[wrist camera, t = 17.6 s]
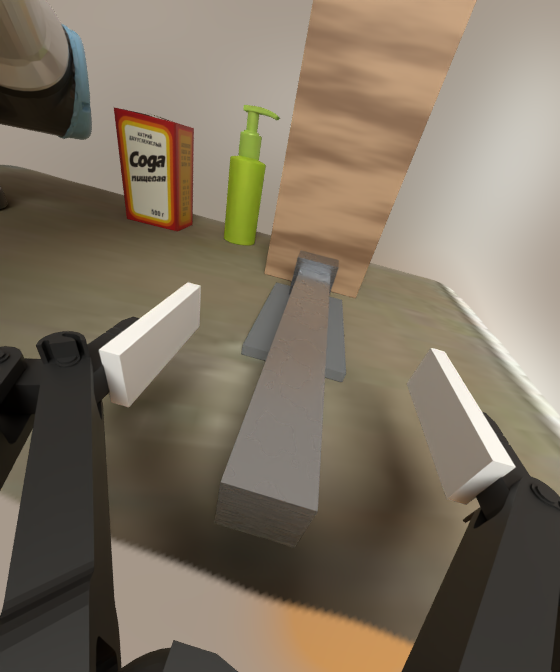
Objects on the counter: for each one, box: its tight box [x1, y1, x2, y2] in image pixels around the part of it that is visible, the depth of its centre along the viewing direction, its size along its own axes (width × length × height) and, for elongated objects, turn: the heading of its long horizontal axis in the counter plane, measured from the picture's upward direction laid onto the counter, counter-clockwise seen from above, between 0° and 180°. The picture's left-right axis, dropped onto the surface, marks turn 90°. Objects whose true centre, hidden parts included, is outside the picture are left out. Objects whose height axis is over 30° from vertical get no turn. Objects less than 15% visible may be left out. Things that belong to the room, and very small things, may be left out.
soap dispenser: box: [224, 105, 280, 245], centre depth 45 cm, size 6×7×20 cm
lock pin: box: [214, 250, 339, 548], centre depth 22 cm, size 28×5×5 cm, turn 169°
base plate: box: [241, 282, 346, 382], centre depth 28 cm, size 15×9×1 cm, turn 170°
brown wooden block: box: [264, 0, 477, 298], centre depth 34 cm, size 10×14×30 cm
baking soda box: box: [114, 108, 194, 231], centre depth 45 cm, size 10×6×16 cm
